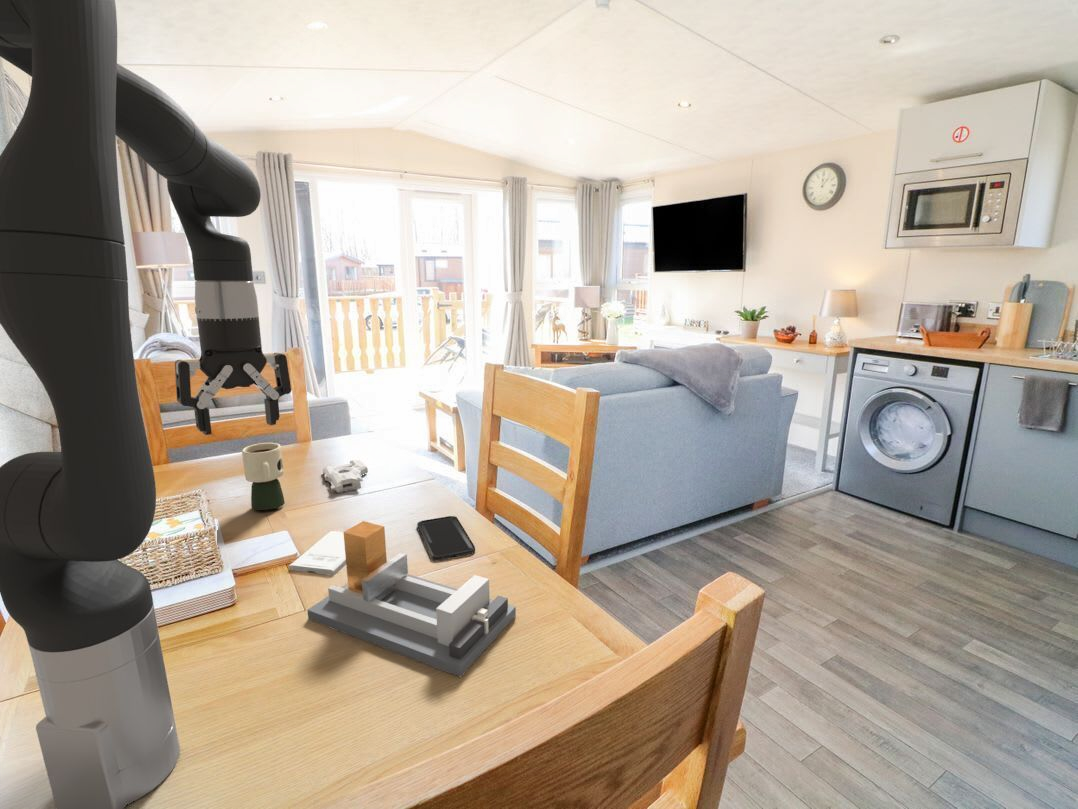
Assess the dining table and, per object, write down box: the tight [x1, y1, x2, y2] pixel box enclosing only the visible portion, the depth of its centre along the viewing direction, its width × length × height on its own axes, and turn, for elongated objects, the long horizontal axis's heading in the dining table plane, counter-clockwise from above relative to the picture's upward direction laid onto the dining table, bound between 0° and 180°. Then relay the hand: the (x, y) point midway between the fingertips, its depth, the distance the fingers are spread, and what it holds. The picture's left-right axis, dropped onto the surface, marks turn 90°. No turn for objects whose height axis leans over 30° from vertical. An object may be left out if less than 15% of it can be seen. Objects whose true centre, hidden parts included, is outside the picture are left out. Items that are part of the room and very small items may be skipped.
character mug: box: [241, 442, 286, 511], centre depth 116 cm, size 11×7×13 cm, turn 32°
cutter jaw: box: [341, 520, 409, 602], centre depth 83 cm, size 7×8×10 cm
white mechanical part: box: [322, 459, 369, 493], centre depth 133 cm, size 18×4×10 cm
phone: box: [416, 515, 476, 562], centre depth 105 cm, size 8×1×15 cm
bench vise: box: [307, 573, 517, 677], centre depth 81 cm, size 26×14×6 cm, turn 63°
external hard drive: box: [288, 530, 346, 576], centre depth 99 cm, size 2×8×12 cm
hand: (240, 428), depth 82 cm, fingers open, 8 cm apart
